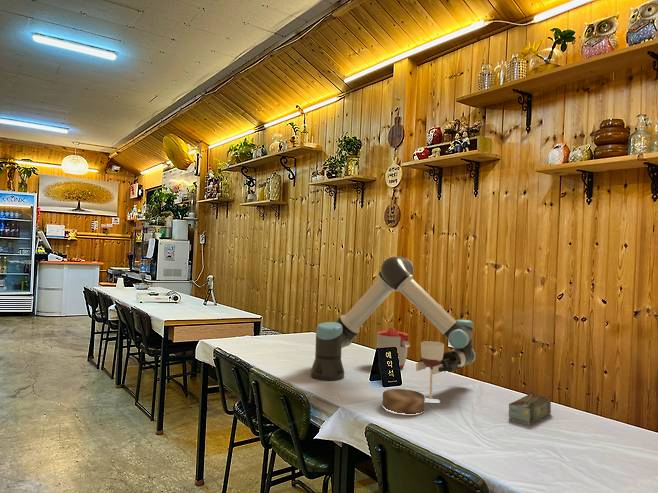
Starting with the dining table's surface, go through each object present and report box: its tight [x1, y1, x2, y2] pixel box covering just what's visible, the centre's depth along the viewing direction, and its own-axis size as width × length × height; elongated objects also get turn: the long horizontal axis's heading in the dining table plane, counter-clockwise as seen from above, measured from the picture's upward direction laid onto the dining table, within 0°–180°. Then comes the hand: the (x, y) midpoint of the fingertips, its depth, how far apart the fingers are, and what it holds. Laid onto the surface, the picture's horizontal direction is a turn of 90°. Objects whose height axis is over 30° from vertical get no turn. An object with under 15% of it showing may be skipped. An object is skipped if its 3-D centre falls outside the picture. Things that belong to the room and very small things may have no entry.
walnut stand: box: [381, 388, 426, 414], centre depth 176 cm, size 15×15×5 cm
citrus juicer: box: [376, 326, 411, 370], centre depth 239 cm, size 16×17×20 cm
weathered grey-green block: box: [508, 393, 552, 426], centre depth 173 cm, size 8×19×7 cm, turn 135°
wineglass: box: [420, 340, 445, 399], centre depth 188 cm, size 9×10×22 cm
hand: (425, 368), depth 184 cm, fingers closed on wineglass, 6 cm apart
